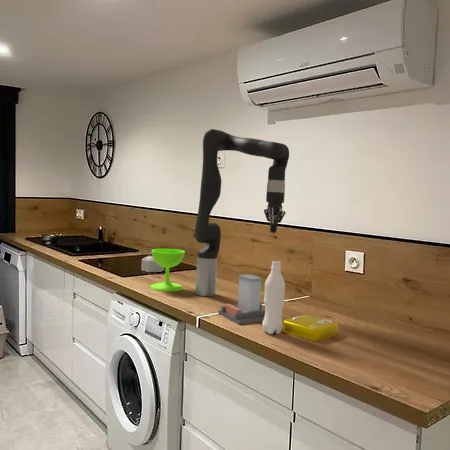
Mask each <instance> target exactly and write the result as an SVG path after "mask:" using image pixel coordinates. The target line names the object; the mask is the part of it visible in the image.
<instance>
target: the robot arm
mask: <svg viewBox="0 0 450 450" xmlns="http://www.w3.org/2000/svg"><path fill="white" fill-rule="evenodd" d="M223 151H224V152H225V151H234V152H239V153H242V154H245V155H250V156H254V157H258V158H259V157H261V158H262V157H263V158H266V159H271V160H273V162H272V165H271V166H269V168H268V173H267V175H268V176H267V182H266V183H267V185H266V198H265V199H266V200H265V202H266V203H267V207H266V209H264V210H263V212H264V215H265V219H266V221H267V222H269V227H270V228H269V232H270V234H271V233H272V234H275V233H277V231H278V230H277V229H278V224H280V223H281V222H282V220H283V218H284V217H285V215H286V213H287V212H286V211H284V210H283V203H285V193H286V181H285V180H286V169H287V166H288V162H289V159H290V150H289V147H288V145H286V144H284V143H281V142H275V141H268V140H264V139H259V138H252V137H242V136H241V137H240V136H236V135H232V134H230V133H227V132H225V131H223V130H219V129H214V128H209V129H207V130H206V131H205V132H204V134H203V139H202V166H201V167H202V169H201V180H200V189H199V191H200V192H199V204H198V211H197V217H196V222H195V227H194V237H195V241H197V242H198V243H199V244H205V245H204V247H202V248H201V249H199V250H198V251H197V256H196V257H197V258H196V259H197V260H196V274H195V275H196V276H195V292H194V293H195V295H197V296H200V297H214V296H216V290H217V271H218V269H217V268H218V255H219V252H220V248H221V247H220V245H221V238H222V237H221V234H222V232H221V231H222V230H221V227H220V225H219V224H218V223H217V222H210V215H211V212H212V210H213V209H214V208H215V205H216V204H217V203H218V200H219V199H220V196H221V192H222V190H221V189H222V177H221V174H220V173H221V171H220V170H219V169H220V168H219V165H218V155H219V154H218V153H219V152H223Z"/></svg>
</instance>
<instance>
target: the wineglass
mask: <svg viewBox="0 0 450 450" xmlns="http://www.w3.org/2000/svg"><path fill="white" fill-rule="evenodd" d="M185 253H186V251H185V250H182V249H176V248H154V249H151V256H152V257H153V259H154V260H155V262H156V263H157V264H159V265H160V266H162V267H164V268H165V269H164V272H165V273H164V274H165V275H164V276H165V277H164V281H163V282H155V283H153V284H151V285H150V286H149V288H150V287H151V288H152V289H151V288H150V289H151V290H153V289H155V290H154V291H157V290H158V292H178V291H183V289H184V287H183V285H181V284H179V283H176V282H170V268H173V267H177V266H178V265H180V263H181V262H182V261H183V259H184V257H185Z"/></svg>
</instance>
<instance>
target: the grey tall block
mask: <svg viewBox="0 0 450 450" xmlns="http://www.w3.org/2000/svg"><path fill="white" fill-rule="evenodd" d="M238 280H239V281H238V297H237V298H238V299H237V305H238V308H239V309H241V310H242V312H250V311H260V303H261V293H262V292H261V291H262V282H263V278H262V277H260V276H256V275H253V274H251V273H249V274H248V273H247V274H238Z"/></svg>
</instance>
